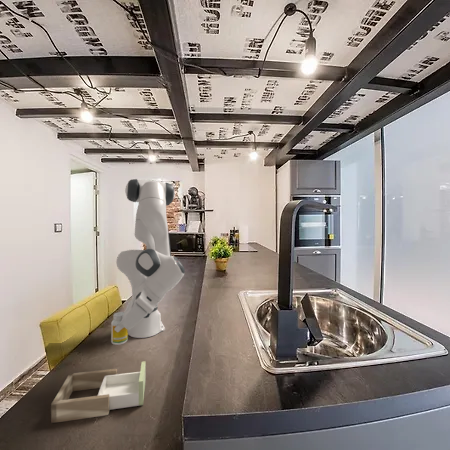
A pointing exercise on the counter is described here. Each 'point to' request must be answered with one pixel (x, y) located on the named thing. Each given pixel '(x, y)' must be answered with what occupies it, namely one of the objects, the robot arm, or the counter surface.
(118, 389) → the tray
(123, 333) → the supplement bottle
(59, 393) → the tray frame
